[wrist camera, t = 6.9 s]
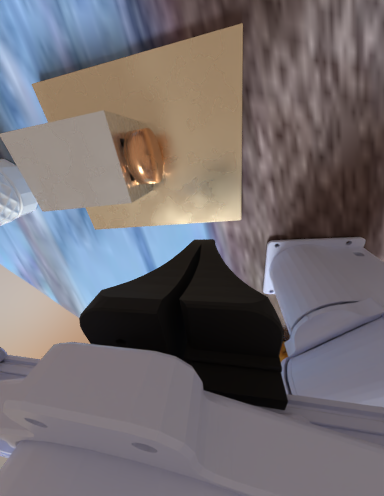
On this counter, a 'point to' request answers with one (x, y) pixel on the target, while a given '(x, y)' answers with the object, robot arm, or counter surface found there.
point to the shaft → (143, 156)
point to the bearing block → (139, 117)
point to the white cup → (14, 193)
